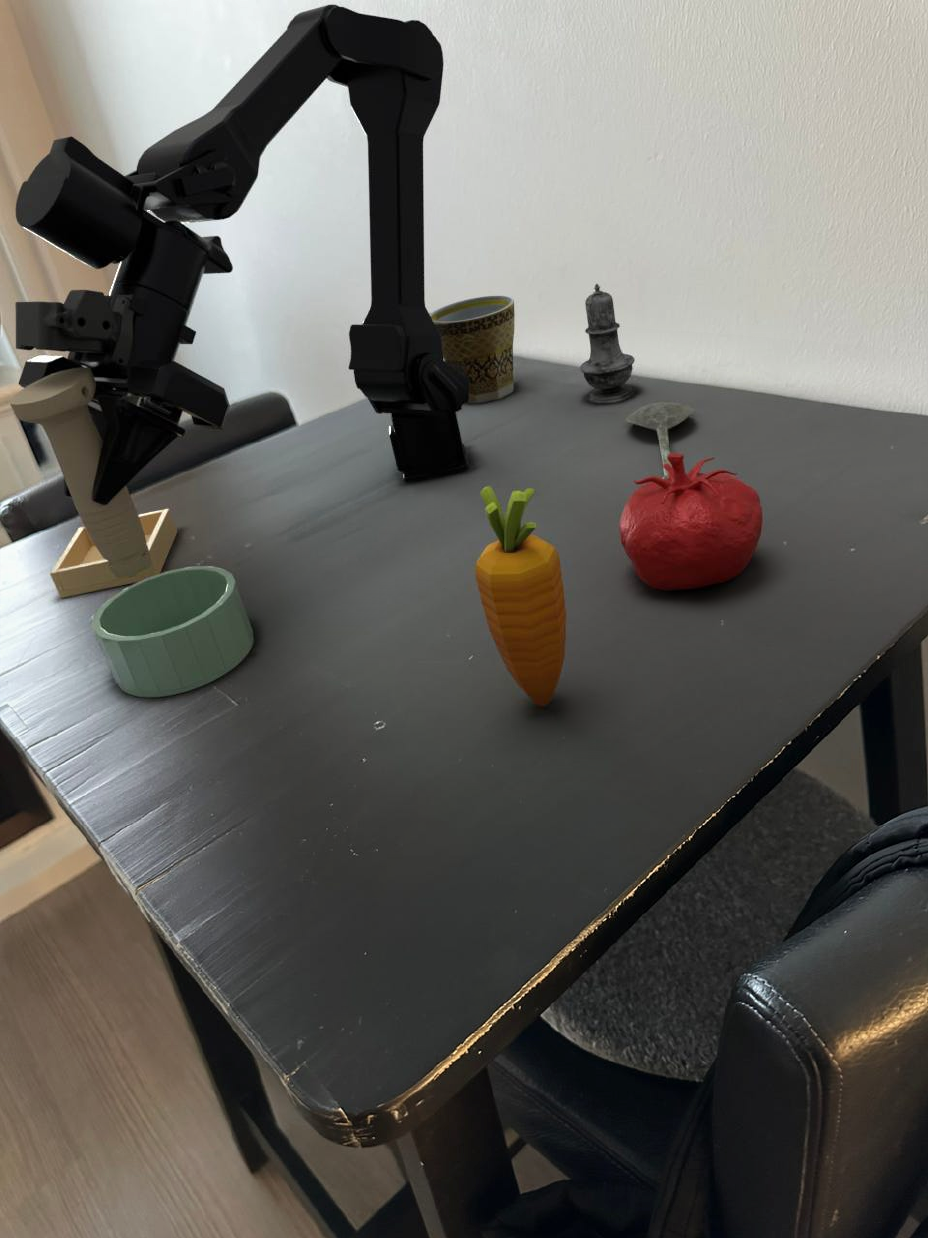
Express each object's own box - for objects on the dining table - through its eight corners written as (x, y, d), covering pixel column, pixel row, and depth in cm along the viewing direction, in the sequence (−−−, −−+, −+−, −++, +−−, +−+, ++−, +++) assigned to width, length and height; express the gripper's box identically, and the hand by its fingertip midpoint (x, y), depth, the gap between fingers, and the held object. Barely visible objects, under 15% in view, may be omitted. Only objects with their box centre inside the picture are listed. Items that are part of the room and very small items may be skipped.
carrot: (500, 692, 67) (454, 480, 59) (575, 676, 66) (539, 462, 59) (509, 736, 62) (461, 514, 55) (590, 720, 62) (552, 494, 55)
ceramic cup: (545, 381, 120) (531, 295, 115) (489, 412, 115) (472, 323, 110) (466, 374, 129) (450, 294, 124) (410, 403, 123) (391, 320, 118)
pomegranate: (769, 599, 70) (762, 473, 65) (622, 610, 72) (605, 490, 68) (760, 533, 78) (754, 418, 73) (628, 545, 81) (614, 434, 76)
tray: (177, 531, 102) (169, 508, 101) (158, 577, 93) (148, 552, 92) (88, 550, 103) (78, 527, 101) (60, 598, 94) (49, 573, 92)
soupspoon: (694, 417, 103) (629, 429, 105) (690, 384, 102) (624, 397, 103) (709, 501, 84) (628, 514, 86) (703, 463, 83) (622, 477, 84)
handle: (178, 545, 81) (103, 363, 73) (141, 589, 76) (56, 399, 68) (126, 550, 82) (46, 372, 74) (86, 593, 77) (-5, 408, 69)
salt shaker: (636, 400, 108) (623, 286, 103) (581, 407, 110) (565, 295, 104) (639, 382, 113) (627, 272, 107) (586, 389, 115) (571, 280, 109)
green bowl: (261, 608, 84) (242, 555, 81) (245, 680, 74) (224, 621, 72) (133, 635, 84) (111, 582, 82) (101, 709, 75) (75, 652, 72)
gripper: (-12, 249, 75) (-82, 449, 74) (132, 237, 64) (52, 473, 63) (115, 320, 84) (55, 500, 83) (262, 320, 73) (194, 529, 71)
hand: (84, 500), depth 75 cm, fingers closed on handle, 3 cm apart
